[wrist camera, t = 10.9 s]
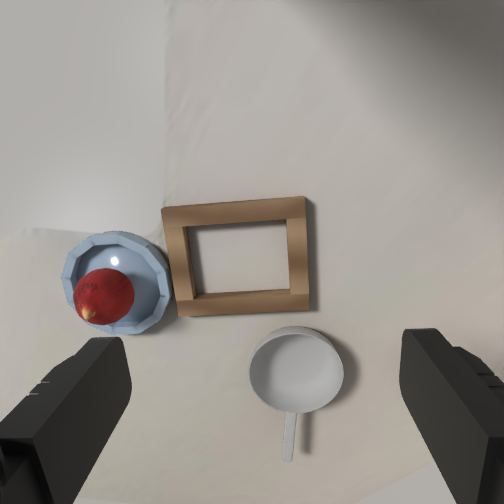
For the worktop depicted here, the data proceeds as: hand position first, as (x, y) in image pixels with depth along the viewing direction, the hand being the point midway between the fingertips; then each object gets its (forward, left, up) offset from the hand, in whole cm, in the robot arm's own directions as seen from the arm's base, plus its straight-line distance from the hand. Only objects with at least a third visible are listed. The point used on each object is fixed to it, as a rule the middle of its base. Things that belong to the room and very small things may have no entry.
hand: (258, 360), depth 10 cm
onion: (+8, -18, -27) cm, 33 cm away
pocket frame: (+6, -4, -27) cm, 28 cm away
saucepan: (+23, +1, -28) cm, 36 cm away
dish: (+8, -18, -27) cm, 34 cm away
